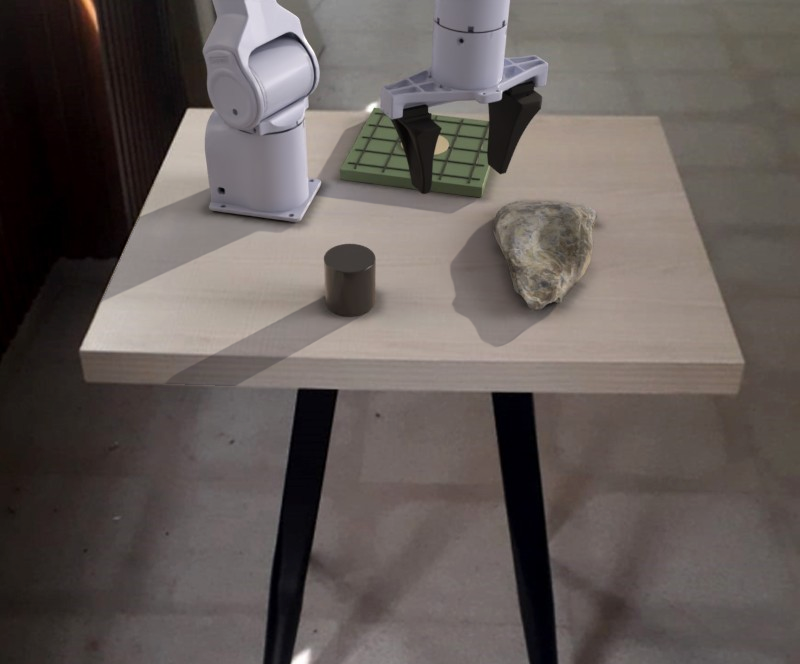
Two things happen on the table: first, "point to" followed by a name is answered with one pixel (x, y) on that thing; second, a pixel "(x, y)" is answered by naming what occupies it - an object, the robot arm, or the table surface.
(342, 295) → the dark grey cylinder
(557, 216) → the stone
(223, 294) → the table surface
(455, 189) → the board
